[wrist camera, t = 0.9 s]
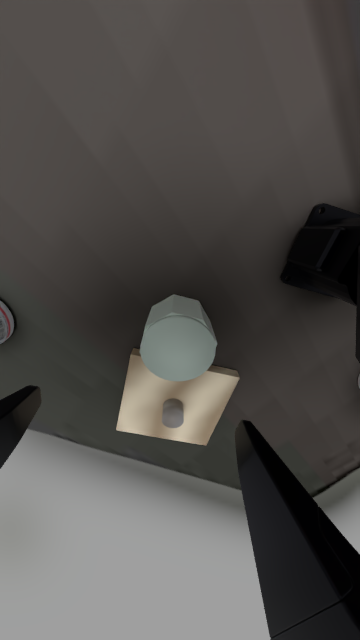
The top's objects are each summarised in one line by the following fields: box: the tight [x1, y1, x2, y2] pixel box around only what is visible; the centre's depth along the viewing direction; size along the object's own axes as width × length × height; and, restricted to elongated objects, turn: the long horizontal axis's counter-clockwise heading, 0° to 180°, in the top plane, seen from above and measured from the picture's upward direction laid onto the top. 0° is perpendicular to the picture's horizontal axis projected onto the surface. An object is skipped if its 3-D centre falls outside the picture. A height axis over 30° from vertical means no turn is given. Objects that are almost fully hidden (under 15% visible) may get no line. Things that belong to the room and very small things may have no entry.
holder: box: [116, 348, 240, 446], centre depth 23 cm, size 12×12×3 cm
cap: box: [139, 294, 217, 381], centre depth 18 cm, size 6×6×5 cm
